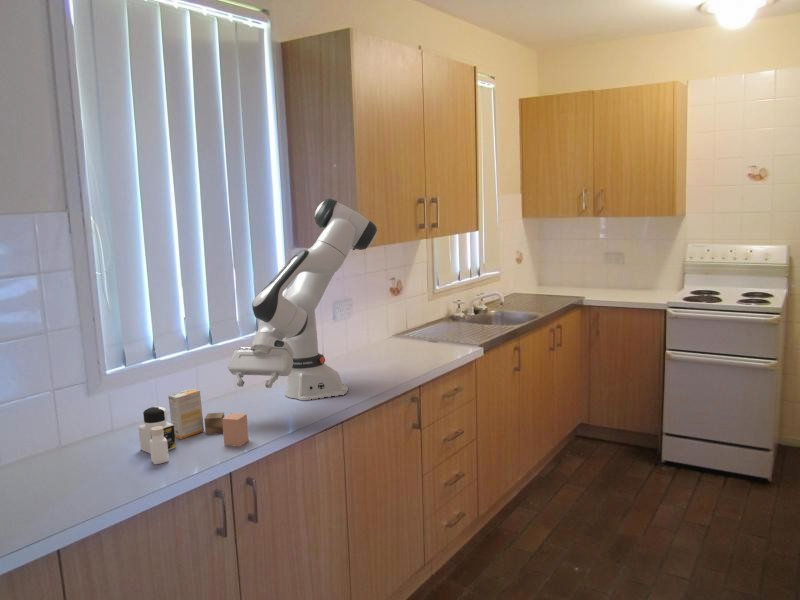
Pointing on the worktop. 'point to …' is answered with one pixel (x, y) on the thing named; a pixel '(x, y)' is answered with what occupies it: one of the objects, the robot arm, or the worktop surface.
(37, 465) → the worktop surface
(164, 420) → the medicine bottle
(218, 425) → the walnut block
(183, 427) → the supplement box
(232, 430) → the terracotta block
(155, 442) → the pepper shaker
